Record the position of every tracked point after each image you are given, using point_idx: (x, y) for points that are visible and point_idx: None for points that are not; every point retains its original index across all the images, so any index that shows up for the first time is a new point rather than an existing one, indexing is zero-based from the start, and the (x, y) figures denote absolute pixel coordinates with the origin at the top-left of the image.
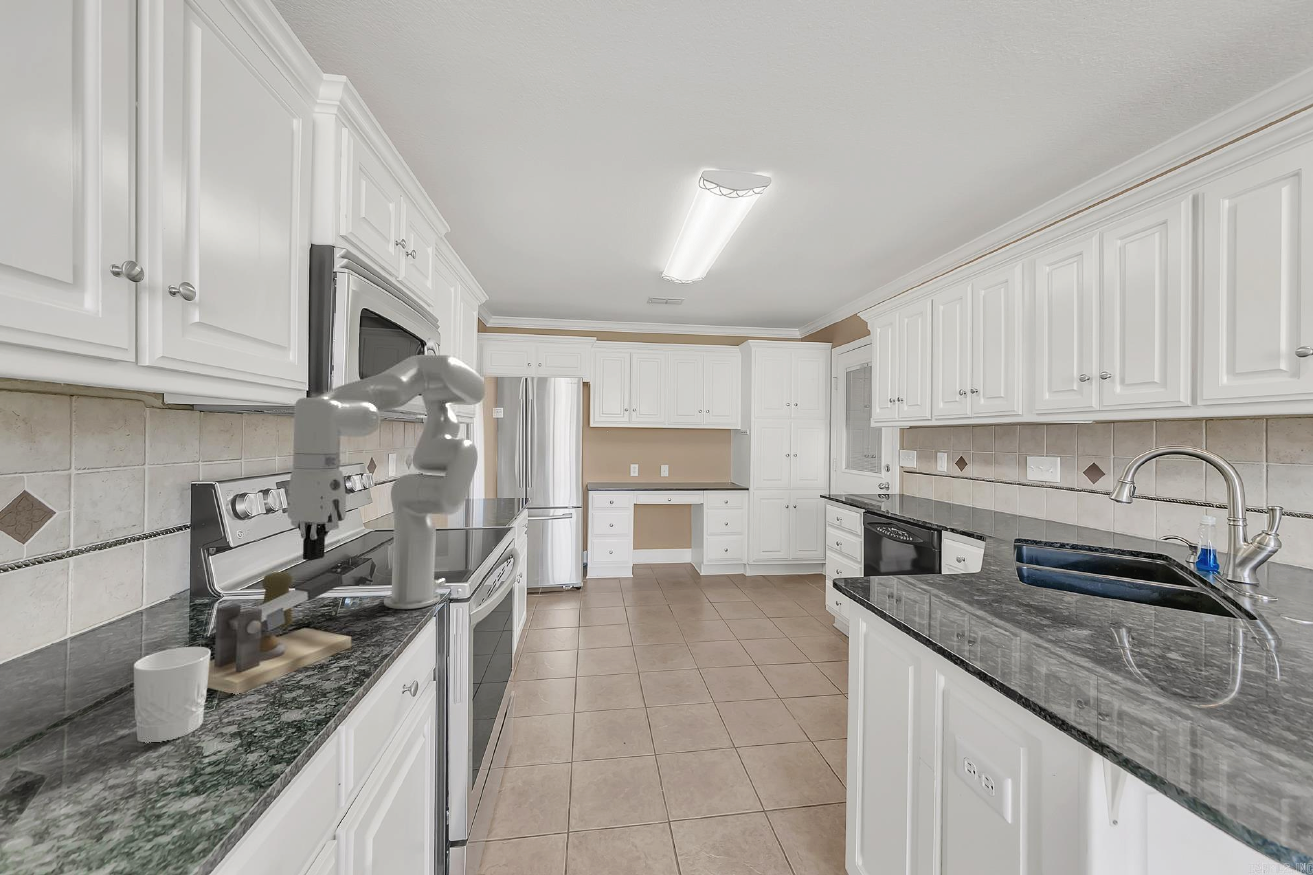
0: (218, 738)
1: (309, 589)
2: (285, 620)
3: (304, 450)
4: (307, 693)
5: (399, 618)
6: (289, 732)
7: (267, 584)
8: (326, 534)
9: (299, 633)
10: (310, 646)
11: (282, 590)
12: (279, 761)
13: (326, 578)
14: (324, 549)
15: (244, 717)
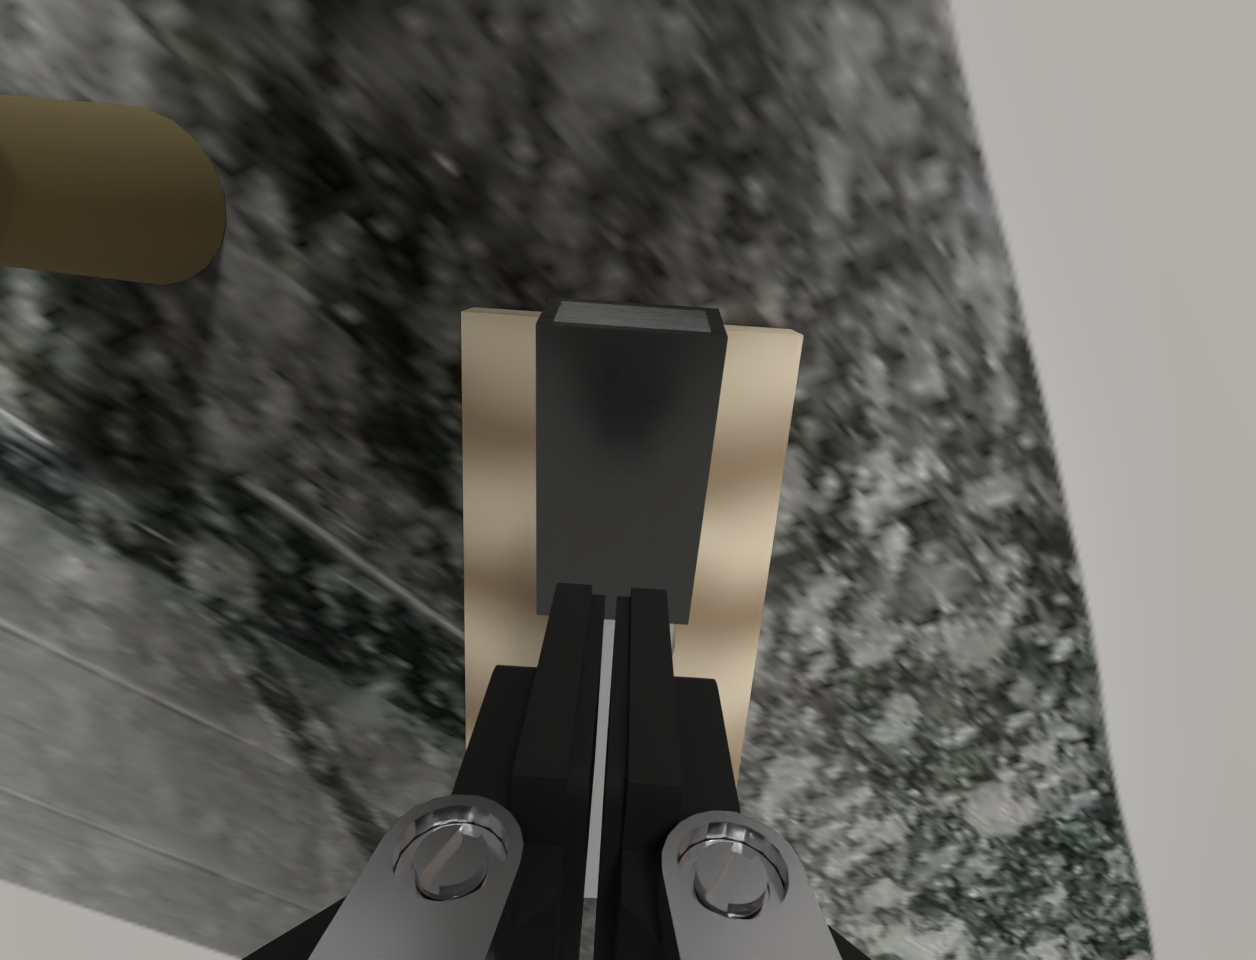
0: (897, 926)
1: (682, 617)
2: (198, 202)
3: None
4: (939, 709)
5: None
6: (1056, 870)
7: None
8: (841, 942)
9: (511, 388)
10: (707, 500)
11: (20, 199)
12: (1124, 951)
13: (645, 437)
14: (669, 637)
15: (871, 851)
